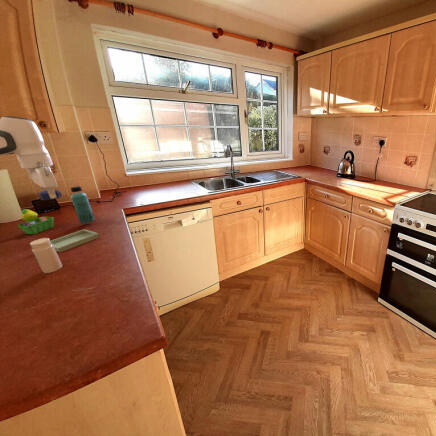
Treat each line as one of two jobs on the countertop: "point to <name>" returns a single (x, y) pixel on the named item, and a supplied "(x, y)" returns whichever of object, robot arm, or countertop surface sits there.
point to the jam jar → (46, 255)
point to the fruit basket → (34, 222)
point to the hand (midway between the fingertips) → (51, 196)
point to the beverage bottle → (82, 206)
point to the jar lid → (45, 195)
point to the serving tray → (73, 240)
